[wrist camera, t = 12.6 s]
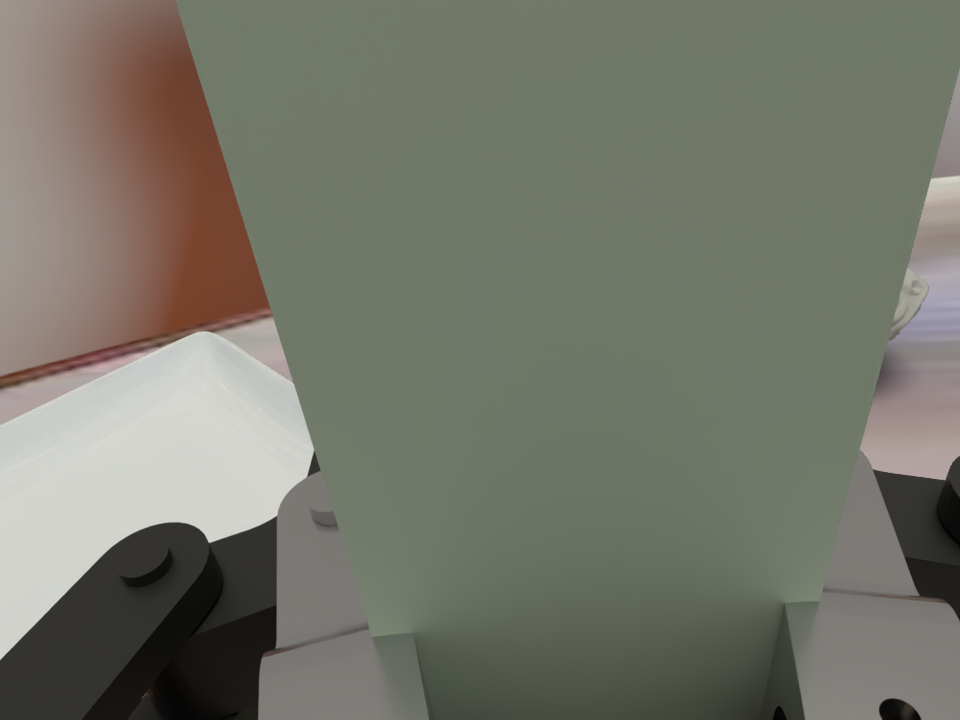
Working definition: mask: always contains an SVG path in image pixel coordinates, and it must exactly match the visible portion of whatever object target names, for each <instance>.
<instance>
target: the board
mask: <svg viewBox="0 0 960 720" xmlns="http://www.w3.org/2000/svg"><path fill="white" fill-rule="evenodd" d="M175 1H176V4H177V7H178V11H179V14H180V17H181V20H182V23H183V27H184V30H185V33H186V36H187V40H188V43H189V46H190V49H191V52H192V56H193V59H194V62H195V65H196V69H197V72H198V75H199V78H200V82H201V85H202V88H203V91H204V95H205V98H206V101H207V104H208V108H209V111H210V114H211V117H212V121H213V124H214V127H215V130H216V133H217V136H218V140H219V143H220V146H221V150H222V153H223V156H224V159H225V163H226V166H227V169H228V172H229V175H230V179H231V182H232V185H233V189H234V192H235V195H236V198H237V201H238V205H239V208H240V211H241V214H242V218H243V221H244V224H245V227H246V230H247V234H248V237H249V240H250V243H251V247H252V250H253V253H254V256H255V260H256V263H257V266H258V269H259V273H260V276H261V279H262V282H263V286H264V289H265V292H266V295H267V299H268V302H269V305H270V308H271V311H272V315H273V318H274V321H275V324H276V328H277V331H278V334H279V337H280V341H281V344H282V347H283V350H284V354H285V357H286V360H287V363H288V366H289V370H290V373H291V376H292V379H293V383H294V386H295V389H296V392H297V396H298V399H299V402H300V405H301V409H302V412H303V415H304V418H305V421H306V425H307V428H308V431H309V434H310V438H311V441H312V444H313V447H314V451H315V454H316V457H317V460H318V464H319V467H320V470H321V473H322V476H323V480H324V483H325V486H326V489H327V493H328V496H329V499H330V502H331V506H332V509H333V512H334V515H335V519H336V522H337V525H338V528H339V532H340V535H341V538H342V541H343V544H344V548H345V551H346V554H347V557H348V561H349V564H350V567H351V570H352V574H353V577H354V580H355V583H356V587H357V590H358V593H359V596H360V599H361V603H362V606H363V609H364V612H365V616H366V619H367V622H368V625H369V629H370V632H371V635H372V637H376V636H384V635H393V634H403V633H413V635H414V639H415V643H416V647H417V651H418V655H419V658H420V662H421V666H422V670H423V674H424V678H425V682H426V686H427V690H428V694H429V698H430V702H431V706H432V710H433V713H434V717H435V720H759V717H760V712H761V707H762V703H763V698H764V694H765V689H766V685H767V680H768V676H769V671H770V667H771V662H772V657H773V653H774V648H775V644H776V639H777V635H778V630H779V626H780V621H781V617H782V612H783V607H784V603H791V602H808V601H820V598H821V594H822V590H823V586H824V582H825V578H826V575H827V571H828V567H829V563H830V559H831V556H832V552H833V548H834V544H835V540H836V537H837V533H838V529H839V525H840V521H841V518H842V514H843V510H844V506H845V502H846V499H847V495H848V491H849V487H850V483H851V480H852V476H853V472H854V468H855V464H856V461H857V457H858V453H859V449H860V445H861V442H862V438H863V434H864V430H865V426H866V423H867V419H868V415H869V411H870V407H871V404H872V400H873V396H874V392H875V388H876V385H877V381H878V377H879V373H880V369H881V366H882V362H883V358H884V354H885V350H886V347H887V343H888V339H889V335H890V331H891V328H892V324H893V320H894V316H895V312H896V309H897V305H898V301H899V297H900V293H901V290H902V286H903V282H904V278H905V274H906V271H907V267H908V263H909V259H910V255H911V252H912V248H913V244H914V240H915V236H916V233H917V229H918V225H919V221H920V217H921V214H922V210H923V206H924V202H925V198H926V195H927V191H928V187H929V183H930V179H931V175H932V172H933V168H934V164H935V160H936V156H937V153H938V148H939V145H940V141H941V138H942V133H943V129H944V126H945V122H946V119H947V114H948V110H949V107H950V103H951V100H952V96H953V92H954V88H955V84H956V81H957V77H958V72H959V69H960V0H175Z"/></svg>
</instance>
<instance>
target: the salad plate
mask: <svg viewBox="0 0 960 720" xmlns="http://www.w3.org/2000/svg"><path fill="white" fill-rule="evenodd" d="M313 452H314V447H313V444H312V441H311V438H310V434H309V431H308V428H307V425H306V421H305V418H304V415H303V412H302V409H301V405H300V402H299V399H298V396H297V392H296V389H295V386H294V383H293V382H291V381H290V380H288V379H286V378H285V377H283V376H282V375H280V374H279V373H277V372H275V371H274V370H273V369H271V368H269V367H268V366H266V365H265V364H263V363H262V362H260V361H259V360H257V359H256V358H254V357H253V356H251V355H250V354H248V353H247V352H245V351H244V350H242V349H241V348H239V347H238V346H236V345H235V344H233V343H232V342H230V341H229V340H227V339H225V338H224V337H222V336H219V335H217V334H215V333H211V332H196V333H194V334H192V335H189V336H187V337H185V338H182V339H180V340H178V341H176V342H174V343H171V344H169V345H167V346H165V347H163V348H161V349H158V350H156V351H154V352H152V353H150V354H148V355H146V356H144V357H142V358H140V359H137V360H135V361H133V362H131V363H129V364H127V365H125V366H123V367H121V368H118V369H116V370H114V371H112V372H110V373H108V374H106V375H104V376H102V377H99V378H97V379H95V380H93V381H91V382H89V383H87V384H85V385H83V386H81V387H78V388H76V389H74V390H72V391H70V392H68V393H66V394H64V395H62V396H60V397H58V398H56V399H54V400H52V401H50V402H47V403H45V404H43V405H41V406H39V407H37V408H35V409H33V410H31V411H28V412H26V413H24V414H22V415H20V416H18V417H16V418H14V419H12V420H10V421H8V422H5V423H3V424H1V425H0V660H1V659H2V658H3V657H4V655H5V654H6V653H7V652H8V651H9V650H10V649H11V648H12V647H13V646H14V645H15V644H16V643H17V642H18V641H19V640H20V639H21V638H22V637H23V636H24V635H25V634H26V633H27V632H28V631H29V630H30V629H31V628H32V627H33V626H34V625H35V624H36V623H37V622H38V621H39V620H40V619H41V618H42V617H43V616H44V615H45V614H46V613H47V612H48V611H49V610H50V608H51V607H52V606H53V605H54V604H55V603H56V602H57V601H58V600H59V599H60V598H61V597H62V596H63V595H64V594H65V593H66V592H67V591H68V590H69V589H70V588H71V587H72V586H73V585H74V584H75V583H76V582H77V581H78V580H79V579H80V578H81V577H82V576H83V575H84V574H85V573H86V572H87V571H88V570H89V569H90V568H91V567H92V566H93V565H94V564H95V563H96V561H97V560H98V559H99V558H100V557H101V556H102V555H103V554H104V553H106V552H107V551H108V550H109V549H110V548H111V547H112V546H114V545H115V544H116V543H118V542H119V541H120V540H122V539H124V538H125V537H127V536H129V535H130V534H132V533H135V532H137V531H139V530H141V529H144V528H147V527H149V526H153V525H157V524H161V523H168V522H181V523H187V524H190V525H193V526H195V527H197V528H198V529H200V530H201V531H202V532H203V533H204V534H205V536H206V538H207V540H208V542H209V543H210V542H213V541H216V540H219V539H222V538H225V537H228V536H231V535H234V534H237V533H240V532H243V531H246V530H249V529H252V528H254V527H257V526H259V525H261V524H263V523H265V522H267V521H269V520H271V519H272V518H274V517H275V516H277V514H278V509H279V506H280V504H281V502H282V500H283V499H284V497H285V496H286V494H287V493H288V492H289V491H290V490H291V489H292V488H293V487H294V486H295V485H296V484H298V483H299V482H300V481H302V480H303V479H305V478H307V475H308V471H309V467H310V464H311V460H312V456H313ZM145 695H146V694H145ZM145 695H144V696H145ZM144 696H143V697H142V698H144ZM142 698H141V699H142Z"/></svg>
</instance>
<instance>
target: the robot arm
mask: <svg viewBox="0 0 960 720" xmlns="http://www.w3.org/2000/svg"><path fill="white" fill-rule="evenodd" d="M145 694H146V695H145ZM144 695H145V696H144ZM143 696H144V698H143V699H142V700H141V698H142V697H143ZM140 700H141V702H140V703H139V704H138V702H139V701H140ZM137 704H138V705H137ZM136 705H137V707H136V708H135V706H136ZM134 708H135V709H134ZM133 709H134V711H133V712H132V713H131V711H132V710H133ZM130 713H131V715H130V716H129V717H128V715H129V714H130ZM127 717H128V718H127ZM126 718H127V720H435V717H434V713H433V710H432V706H431V702H430V698H429V694H428V690H427V686H426V682H425V678H424V674H423V670H422V666H421V662H420V658H419V655H418V651H417V647H416V643H415V639H414V635H413V633H403V634H393V635H384V636H376V637H372V635H371V632H370V629H369V625H368V622H367V619H366V616H365V612H364V609H363V606H362V603H361V599H360V596H359V593H358V590H357V587H356V583H355V580H354V577H353V574H352V570H351V567H350V564H349V561H348V557H347V554H346V551H345V548H344V544H343V541H342V538H341V535H340V532H339V528H338V525H337V522H336V519H335V515H334V512H333V509H332V506H331V502H330V499H329V496H328V493H327V489H326V486H325V483H324V480H323V476H322V473H321V470H320V467H319V464H318V460H317V457H316V454H315V451H314V452H313V456H312V460H311V464H310V467H309V471H308V475H307V478H305V479H303V480H302V481H300V482H299V483H298V484H296V485H295V486H294V487H293V488H292V489H291V490H290V491H289V492H288V493H287V494H286V496H285V497H284V499H283V500H282V502H281V504H280V506H279V509H278V514H277V516H275V517H274V518H272V519H271V520H269V521H267V522H265V523H263V524H261V525H259V526H257V527H254V528H252V529H249V530H246V531H243V532H240V533H237V534H234V535H231V536H228V537H225V538H222V539H219V540H216V541H213V542H210V543H209V542H208V540H207V538H206V536H205V534H204V533H203V532H202V531H201V530H200V529H198V528H197V527H195V526H193V525H190V524H187V523H181V522H168V523H161V524H157V525H153V526H149V527H147V528H144V529H141V530H139V531H137V532H135V533H132V534H130V535H129V536H127V537H125V538H124V539H122V540H120V541H119V542H118V543H116V544H115V545H114V546H112V547H111V548H110V549H109V550H108V551H107V552H106V553H104V554H103V555H102V556H101V557H100V558H99V559H98V560H97V561H96V563H95V564H94V565H93V566H92V567H91V568H90V569H89V570H88V571H87V572H86V573H85V574H84V575H83V576H82V577H81V578H80V579H79V580H78V581H77V582H76V583H75V584H74V585H73V586H72V587H71V588H70V589H69V590H68V591H67V592H66V593H65V594H64V595H63V596H62V597H61V598H60V599H59V600H58V601H57V602H56V603H55V604H54V605H53V606H52V607H51V608H50V610H49V611H48V612H47V613H46V614H45V615H44V616H43V617H42V618H41V619H40V620H39V621H38V622H37V623H36V624H35V625H34V626H33V627H32V628H31V629H30V630H29V631H28V632H27V633H26V634H25V635H24V636H23V637H22V638H21V639H20V640H19V641H18V642H17V643H16V644H15V645H14V646H13V647H12V648H11V649H10V650H9V651H8V652H7V653H6V654H5V655H4V657H3V658H2V659H1V660H0V720H125V719H126ZM759 720H960V456H959V457H958V458H957V459H956V460H955V461H953V463H952V465H951V467H950V469H949V472H948V474H947V477H946V480H938V479H931V478H923V477H916V476H909V475H901V474H894V473H887V472H882V471H877V470H873V469H872V466H871V464H870V462H869V460H868V459H867V457H866V456H865V455H864V454H863V452H862V451H860V450H859V453H858V457H857V461H856V464H855V468H854V472H853V476H852V480H851V483H850V487H849V491H848V495H847V499H846V502H845V506H844V510H843V514H842V518H841V521H840V525H839V529H838V533H837V537H836V540H835V544H834V548H833V552H832V556H831V559H830V563H829V567H828V571H827V575H826V578H825V582H824V586H823V590H822V594H821V598H820V601H808V602H791V603H784V607H783V612H782V617H781V621H780V626H779V630H778V635H777V639H776V644H775V648H774V653H773V657H772V662H771V667H770V671H769V676H768V680H767V685H766V689H765V694H764V698H763V703H762V707H761V712H760V717H759Z"/></svg>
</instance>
